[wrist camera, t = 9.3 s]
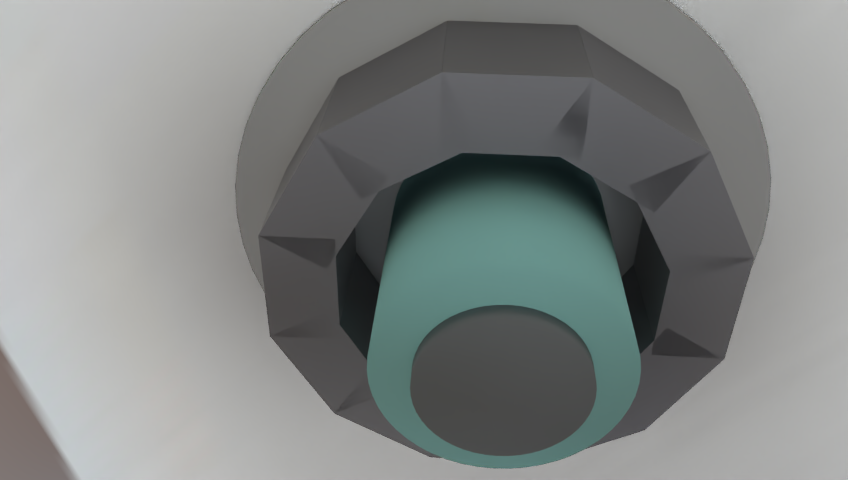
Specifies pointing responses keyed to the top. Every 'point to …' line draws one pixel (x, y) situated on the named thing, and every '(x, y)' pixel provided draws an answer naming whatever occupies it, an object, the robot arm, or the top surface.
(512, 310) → the teal capped cylinder
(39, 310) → the top surface
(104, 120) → the top surface
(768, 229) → the top surface
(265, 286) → the ring
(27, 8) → the top surface
